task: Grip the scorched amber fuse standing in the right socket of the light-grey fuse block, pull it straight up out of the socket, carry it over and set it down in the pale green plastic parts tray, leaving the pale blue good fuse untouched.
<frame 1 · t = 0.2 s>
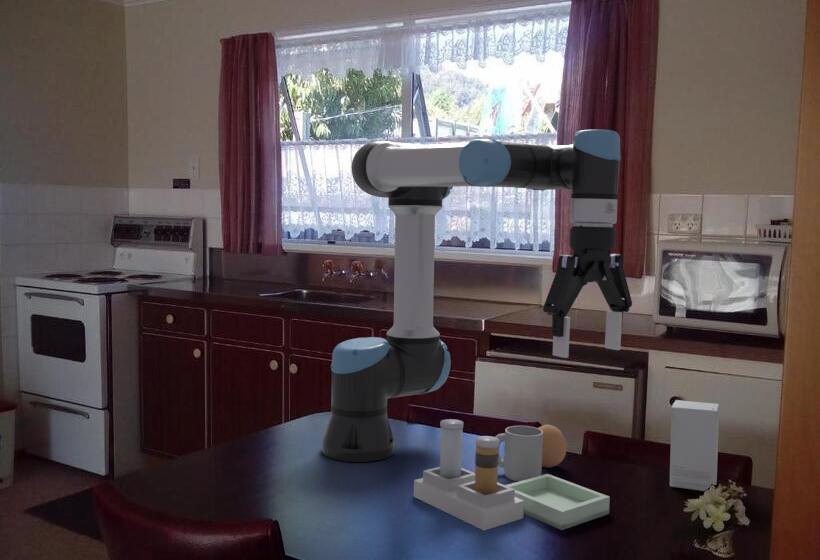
hand: (587, 352, 130), 27 cm above the table, fingers open, 13 cm apart
egg: (546, 467, 156), on the table
parts tray: (553, 508, 134), on the table
skincare box: (692, 486, 147), on the table
blown fuse: (485, 497, 130), point 3 cm above the table, touching fuse block
fuse block: (466, 507, 133), on the table
cup: (515, 476, 151), on the table
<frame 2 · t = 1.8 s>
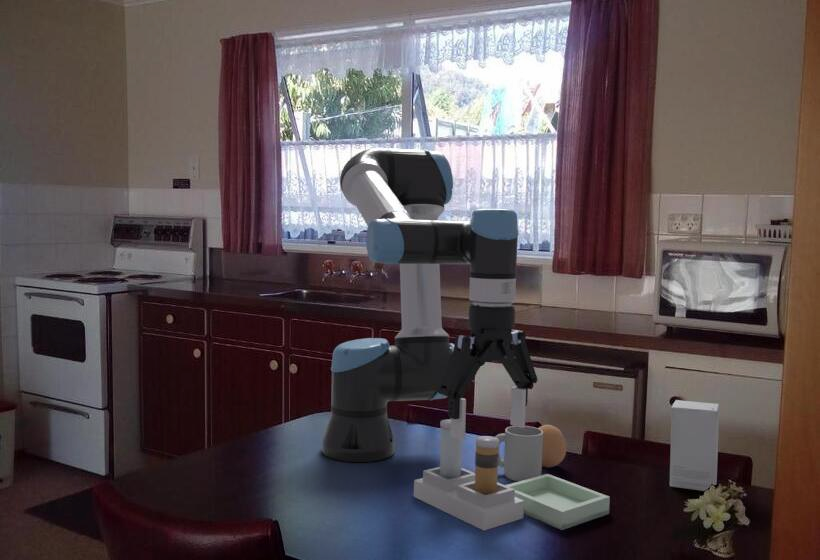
hand: (488, 432, 128), 14 cm above the table, fingers open, 13 cm apart
nothing on the table moved.
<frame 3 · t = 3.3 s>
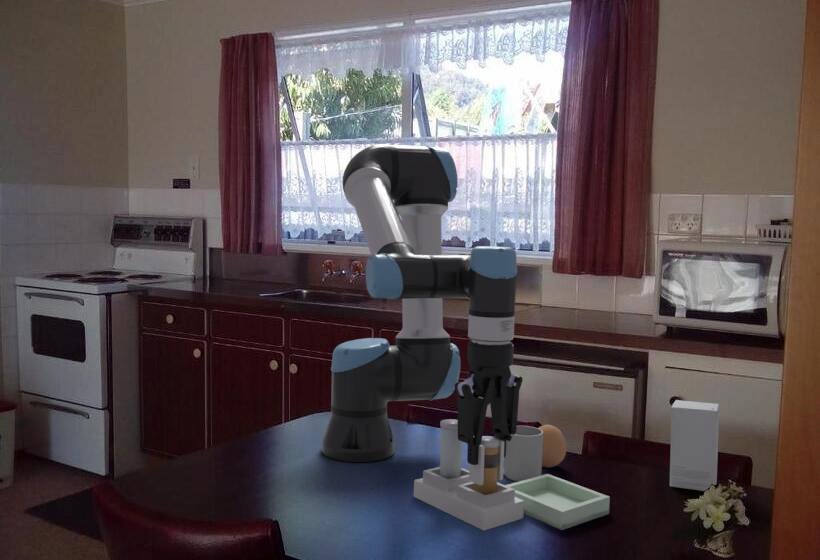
hand: (486, 479, 129), 6 cm above the table, fingers closed on blown fuse, 4 cm apart
blown fuse: (485, 497, 130), point 3 cm above the table, touching fuse block, gripper
everything else where it was.
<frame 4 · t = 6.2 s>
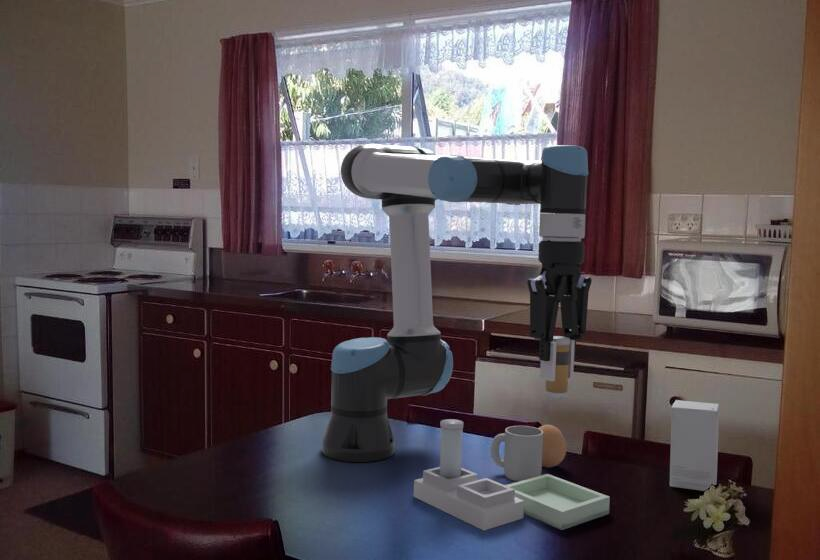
hand: (556, 378, 131), 23 cm above the table, fingers closed on blown fuse, 4 cm apart
blown fuse: (556, 396, 132), point 20 cm above the table, touching gripper
everything else where it was.
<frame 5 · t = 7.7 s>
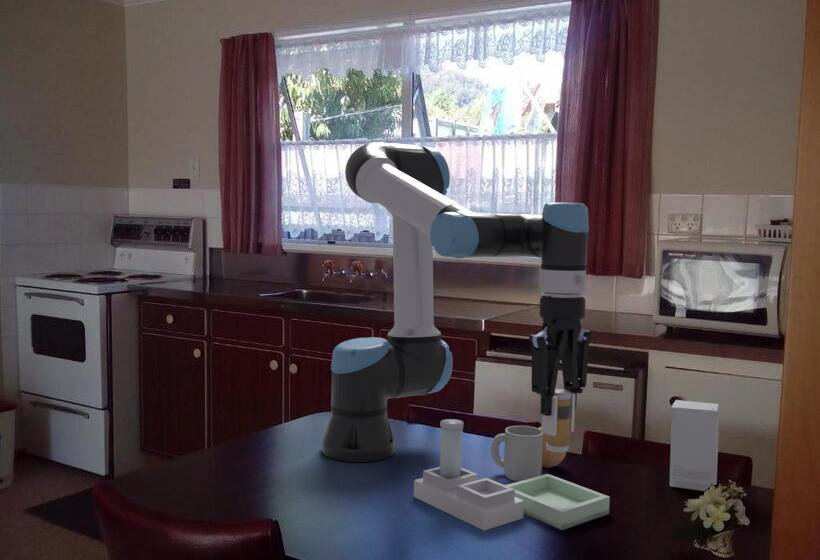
hand: (557, 431, 132), 14 cm above the table, fingers closed on blown fuse, 4 cm apart
blown fuse: (557, 449, 133), point 10 cm above the table, touching gripper
everything else where it was.
when the fingers open (6 cm above the table, at t = 9.1 s): blown fuse drops 2 cm, resting on parts tray.
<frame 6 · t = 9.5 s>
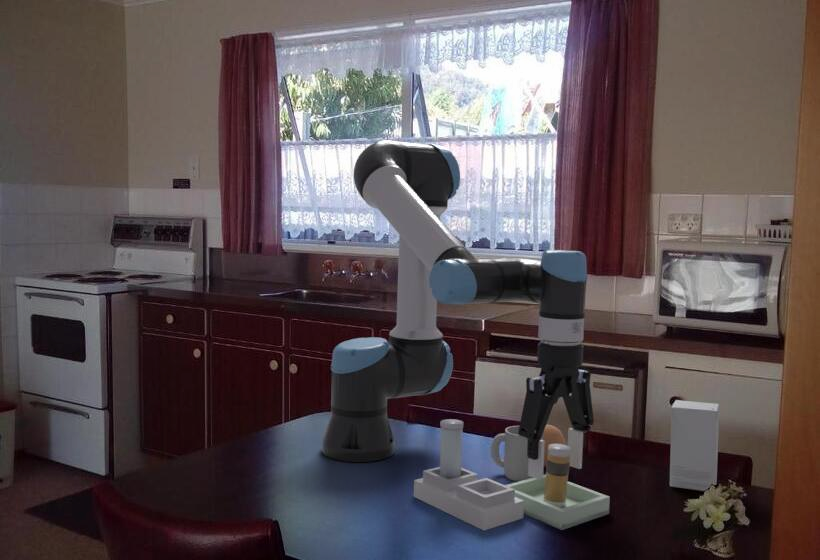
hand: (555, 471, 133), 7 cm above the table, fingers open, 9 cm apart
blown fuse: (554, 503, 134), point 1 cm above the table, touching parts tray
everything else where it was.
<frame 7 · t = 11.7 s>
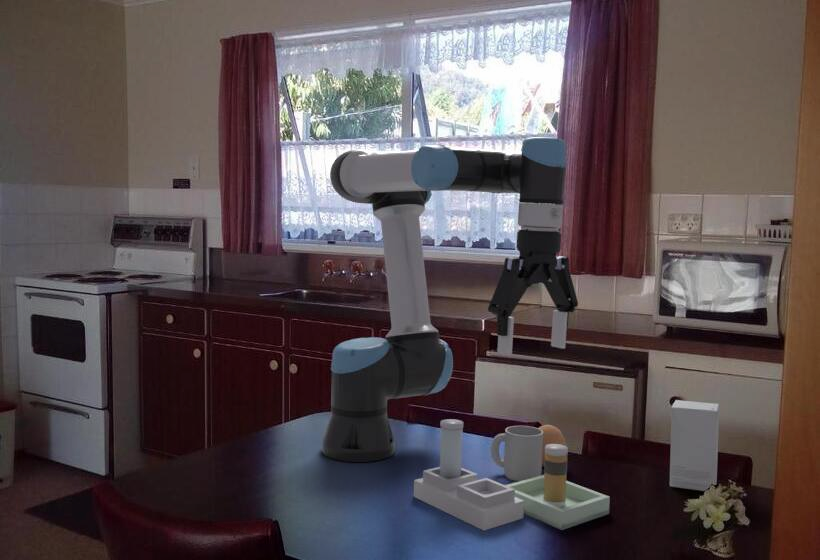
hand: (532, 350, 136), 27 cm above the table, fingers open, 13 cm apart
nothing on the table moved.
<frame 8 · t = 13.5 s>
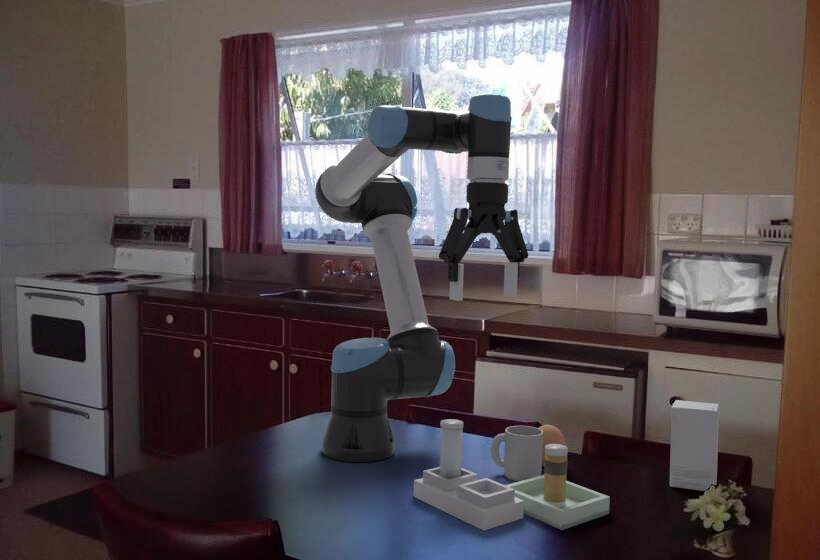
hand: (483, 298, 143), 35 cm above the table, fingers open, 13 cm apart
nothing on the table moved.
at the end: blown fuse inside the target area on the parts tray (0.0 cm from its centre), point 0.8 cm above the parts tray's base; blown fuse touching parts tray; the gripper is holding nothing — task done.
